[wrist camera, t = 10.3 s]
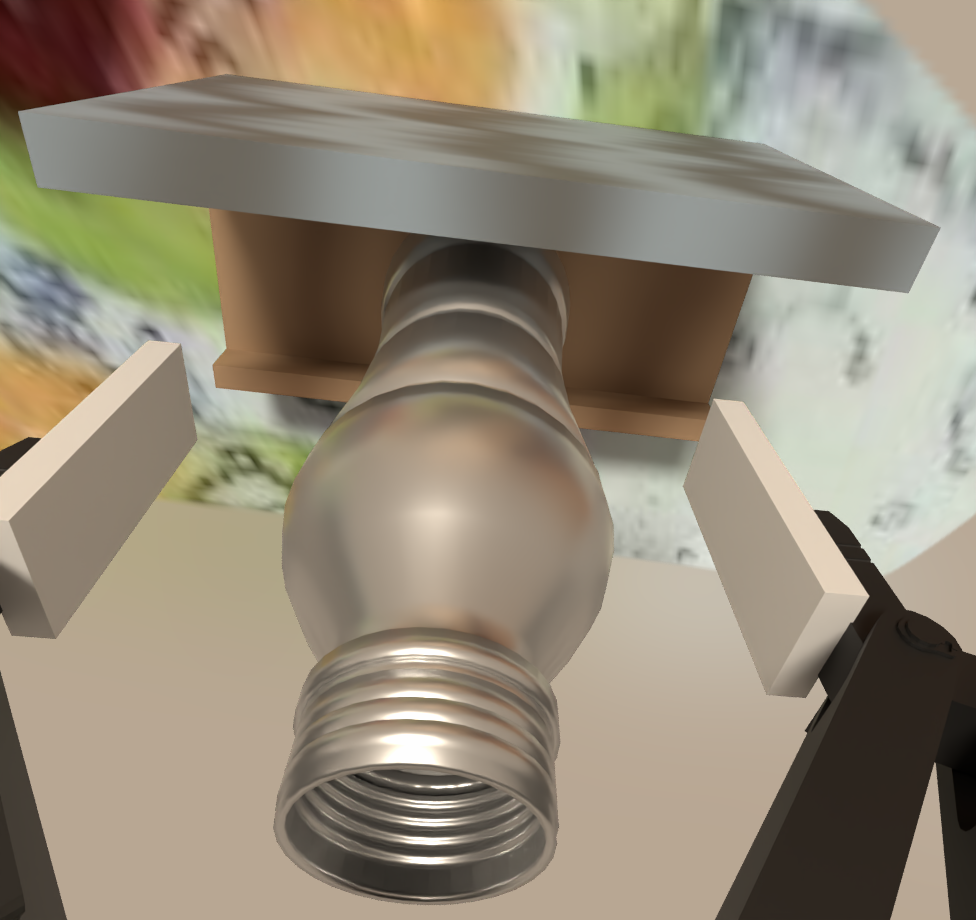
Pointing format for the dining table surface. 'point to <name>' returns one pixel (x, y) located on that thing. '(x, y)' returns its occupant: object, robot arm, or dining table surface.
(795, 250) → the brown wooden box
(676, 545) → the dining table surface
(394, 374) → the silver metal bottle
